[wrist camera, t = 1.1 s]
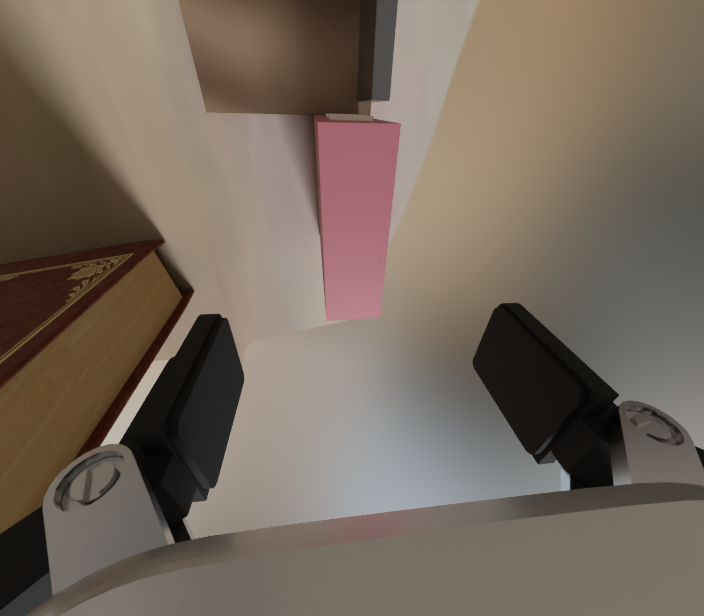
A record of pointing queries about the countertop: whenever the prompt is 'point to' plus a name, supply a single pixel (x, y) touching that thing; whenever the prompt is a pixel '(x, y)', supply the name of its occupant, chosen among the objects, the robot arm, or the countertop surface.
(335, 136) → the slim book
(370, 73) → the bookend
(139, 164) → the countertop surface
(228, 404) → the robot arm
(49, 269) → the decorative book
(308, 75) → the shelf board
